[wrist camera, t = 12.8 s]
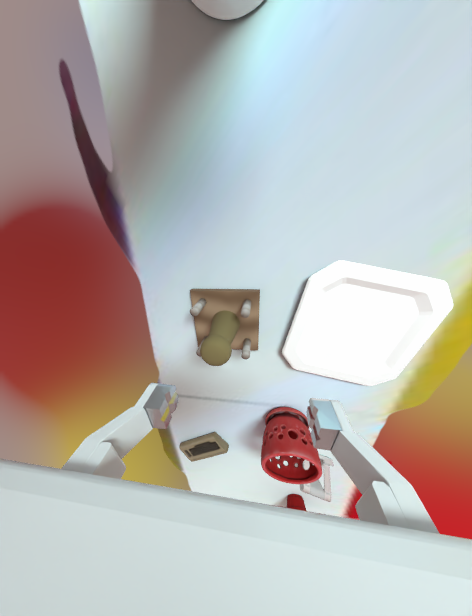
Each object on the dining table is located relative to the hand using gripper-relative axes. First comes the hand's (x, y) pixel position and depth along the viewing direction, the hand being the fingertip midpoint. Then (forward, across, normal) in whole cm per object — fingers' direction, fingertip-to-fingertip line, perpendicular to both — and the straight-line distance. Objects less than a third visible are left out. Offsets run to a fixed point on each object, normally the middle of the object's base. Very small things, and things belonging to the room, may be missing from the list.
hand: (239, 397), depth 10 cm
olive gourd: (+24, +6, +10) cm, 27 cm away
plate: (+26, -20, +10) cm, 34 cm away
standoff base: (+25, +6, +10) cm, 28 cm away
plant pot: (+24, -10, +40) cm, 48 cm away
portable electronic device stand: (+24, -20, +58) cm, 66 cm away
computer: (+24, +16, +59) cm, 65 cm away
